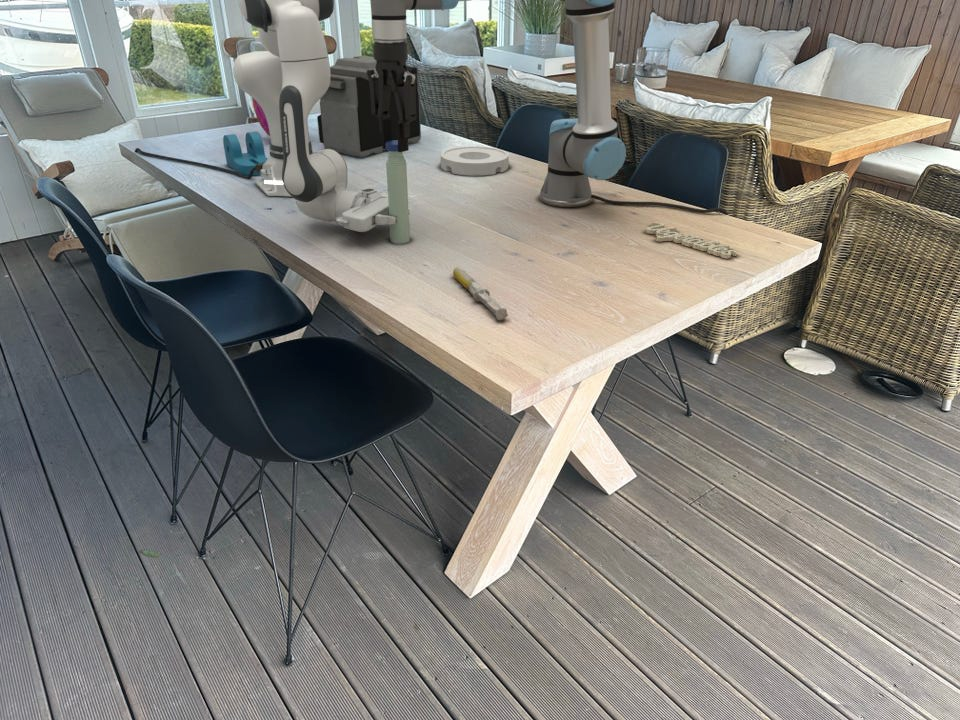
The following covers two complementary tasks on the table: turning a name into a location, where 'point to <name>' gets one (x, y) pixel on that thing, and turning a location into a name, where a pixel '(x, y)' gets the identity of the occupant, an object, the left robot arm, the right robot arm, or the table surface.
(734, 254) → the decorative sign
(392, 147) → the cap
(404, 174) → the bottle
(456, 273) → the syringe
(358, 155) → the electronic device
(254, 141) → the camera mount
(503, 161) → the ashtray
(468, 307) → the table surface
